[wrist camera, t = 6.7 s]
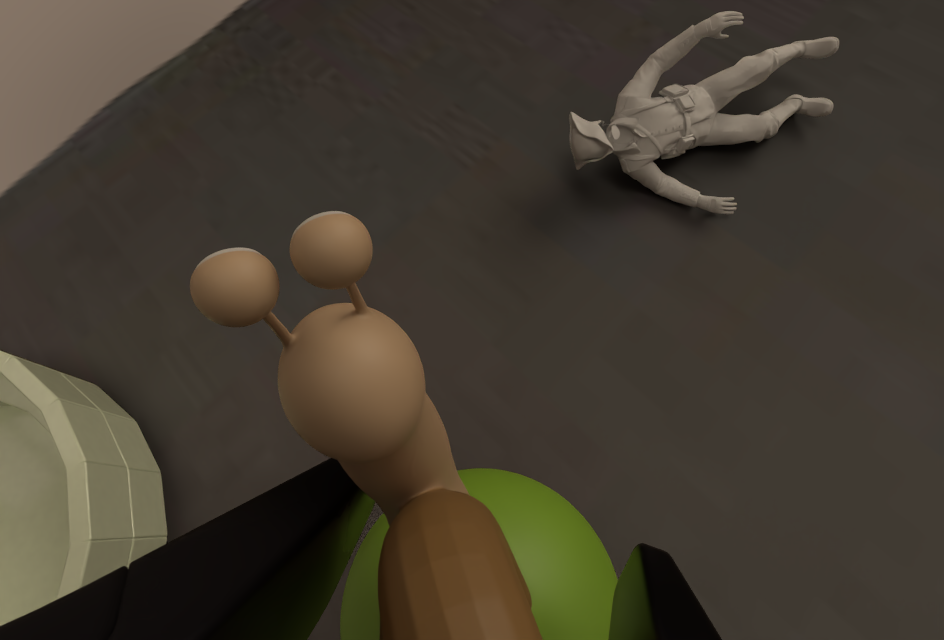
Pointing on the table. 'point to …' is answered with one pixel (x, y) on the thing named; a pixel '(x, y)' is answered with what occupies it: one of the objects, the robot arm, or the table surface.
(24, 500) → the basin
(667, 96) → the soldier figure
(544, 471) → the table surface
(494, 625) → the snail figurine
